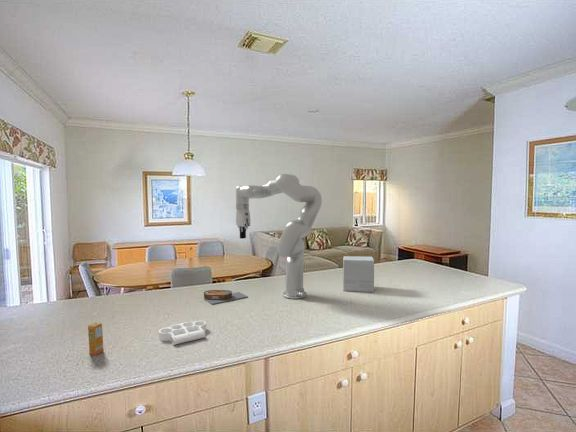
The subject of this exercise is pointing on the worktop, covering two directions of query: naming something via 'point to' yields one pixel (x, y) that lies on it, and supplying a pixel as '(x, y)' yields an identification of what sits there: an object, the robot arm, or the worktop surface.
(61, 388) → the worktop surface
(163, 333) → the white egg tray
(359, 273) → the supplement box
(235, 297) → the gray mat
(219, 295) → the tin
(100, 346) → the supplement box
